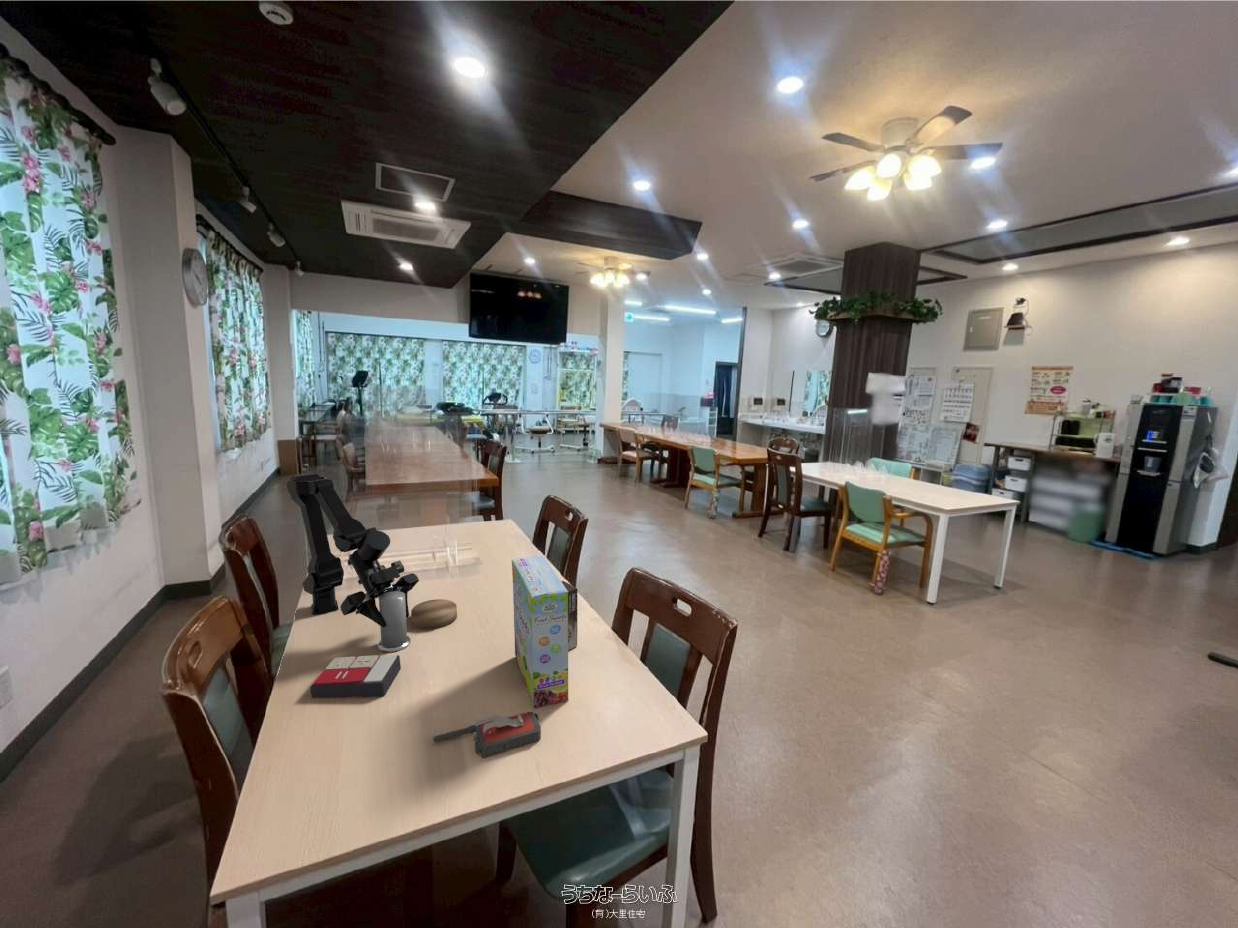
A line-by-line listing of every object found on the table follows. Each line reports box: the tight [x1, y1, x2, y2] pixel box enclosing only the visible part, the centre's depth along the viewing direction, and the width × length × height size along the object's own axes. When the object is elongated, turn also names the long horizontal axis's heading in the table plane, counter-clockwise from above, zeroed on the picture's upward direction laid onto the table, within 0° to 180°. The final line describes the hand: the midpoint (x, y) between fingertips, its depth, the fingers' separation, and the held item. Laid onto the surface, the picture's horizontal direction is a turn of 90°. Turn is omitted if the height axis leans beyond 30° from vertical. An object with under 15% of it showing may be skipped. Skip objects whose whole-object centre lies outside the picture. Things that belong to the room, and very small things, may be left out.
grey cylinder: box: [377, 591, 412, 653], centre depth 130 cm, size 8×8×13 cm
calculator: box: [309, 654, 402, 699], centre depth 115 cm, size 11×4×15 cm
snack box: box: [511, 554, 569, 709], centre depth 116 cm, size 22×9×26 cm, turn 22°
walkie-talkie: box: [432, 711, 542, 759], centre depth 98 cm, size 9×4×20 cm
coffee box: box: [560, 580, 578, 651], centre depth 130 cm, size 9×6×16 cm
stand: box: [410, 598, 458, 630], centre depth 144 cm, size 12×12×3 cm
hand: (396, 621), depth 129 cm, fingers closed on grey cylinder, 6 cm apart
